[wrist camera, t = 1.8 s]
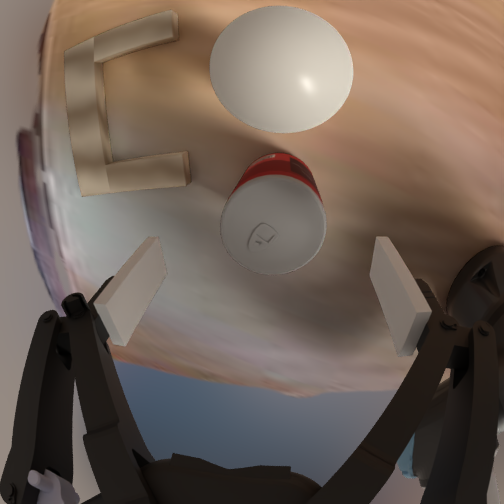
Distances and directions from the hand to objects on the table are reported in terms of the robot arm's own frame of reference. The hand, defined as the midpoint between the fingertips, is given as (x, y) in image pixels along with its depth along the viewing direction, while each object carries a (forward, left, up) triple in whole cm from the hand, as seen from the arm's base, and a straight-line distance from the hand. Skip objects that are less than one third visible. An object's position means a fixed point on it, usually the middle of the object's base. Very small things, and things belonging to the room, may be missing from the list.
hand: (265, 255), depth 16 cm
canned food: (0, 0, -15) cm, 15 cm away
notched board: (+11, +17, -15) cm, 25 cm away
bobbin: (+11, -1, -15) cm, 18 cm away
